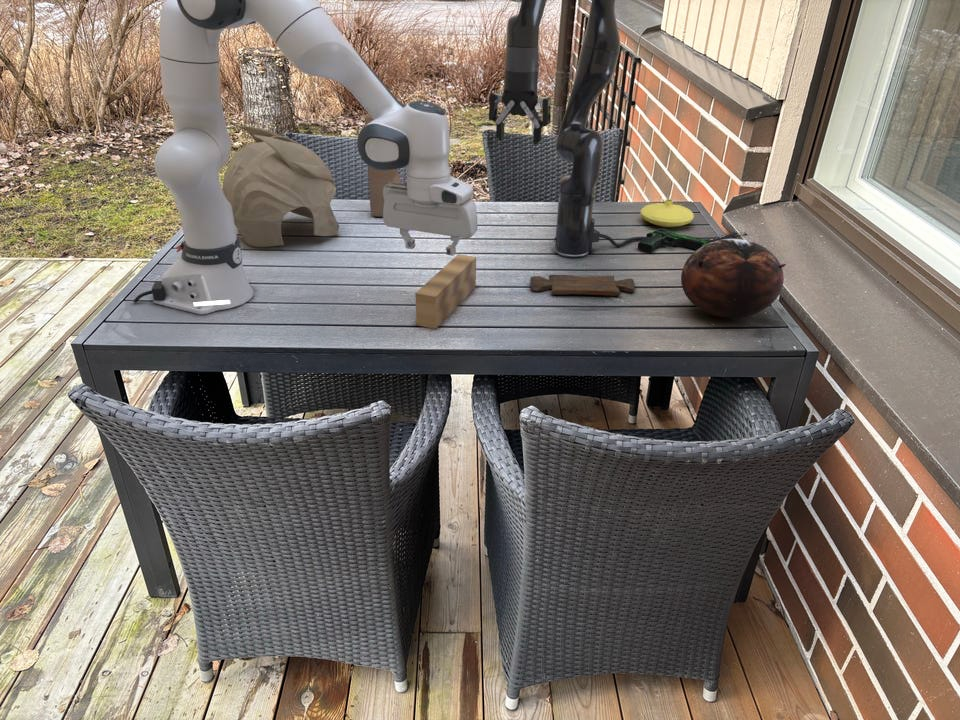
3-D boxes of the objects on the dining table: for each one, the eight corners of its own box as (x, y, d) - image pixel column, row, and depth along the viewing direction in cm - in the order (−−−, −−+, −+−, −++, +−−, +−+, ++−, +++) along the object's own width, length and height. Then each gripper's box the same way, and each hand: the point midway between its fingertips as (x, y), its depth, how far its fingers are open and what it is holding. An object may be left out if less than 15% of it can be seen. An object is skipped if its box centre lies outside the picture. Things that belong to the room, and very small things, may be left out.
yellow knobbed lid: (637, 212, 224) (640, 190, 220) (689, 215, 222) (693, 193, 219) (640, 230, 211) (643, 207, 207) (695, 233, 209) (699, 210, 205)
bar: (458, 283, 177) (458, 253, 173) (475, 286, 176) (476, 256, 172) (416, 325, 158) (415, 293, 154) (435, 329, 156) (435, 296, 152)
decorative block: (418, 219, 216) (415, 117, 200) (370, 216, 217) (363, 114, 202) (423, 211, 222) (421, 111, 207) (376, 208, 224) (370, 109, 208)
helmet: (352, 242, 202) (347, 133, 187) (249, 261, 186) (234, 144, 172) (313, 214, 220) (305, 113, 206) (217, 230, 205) (201, 122, 190)
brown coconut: (756, 268, 174) (792, 226, 156) (764, 335, 169) (803, 301, 150) (665, 264, 174) (691, 222, 155) (670, 332, 168) (697, 297, 149)
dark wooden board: (638, 298, 171) (631, 281, 180) (639, 292, 170) (632, 275, 179) (530, 294, 172) (529, 277, 180) (531, 288, 171) (529, 271, 179)
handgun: (632, 238, 197) (658, 223, 207) (630, 248, 199) (657, 232, 209) (685, 255, 189) (710, 237, 198) (684, 265, 190) (708, 247, 200)
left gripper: (375, 185, 145) (379, 249, 152) (469, 197, 138) (468, 263, 146) (389, 176, 150) (393, 239, 157) (480, 188, 144) (480, 252, 151)
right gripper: (485, 68, 158) (484, 142, 166) (547, 72, 153) (542, 149, 162) (497, 63, 164) (495, 135, 172) (557, 67, 159) (552, 141, 168)
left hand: (430, 251), depth 151 cm, fingers open, 8 cm apart
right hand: (518, 142), depth 167 cm, fingers open, 8 cm apart
